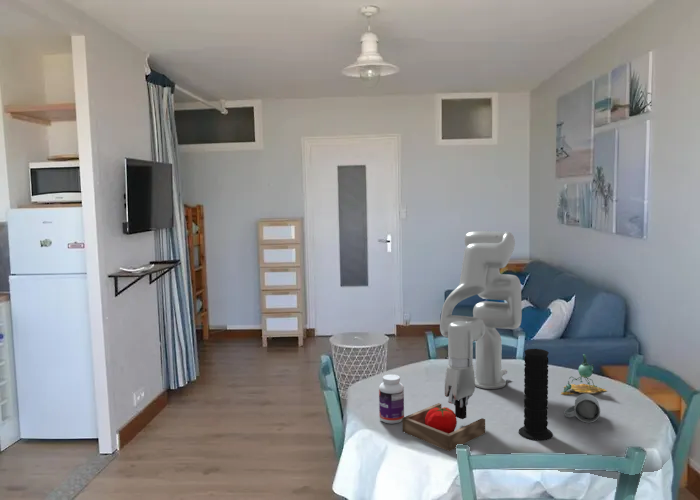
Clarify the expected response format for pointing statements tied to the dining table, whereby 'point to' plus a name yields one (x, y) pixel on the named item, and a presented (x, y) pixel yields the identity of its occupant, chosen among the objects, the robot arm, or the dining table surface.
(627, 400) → the dining table surface
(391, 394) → the pill bottle
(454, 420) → the tomato
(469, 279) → the robot arm
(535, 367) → the handle grip
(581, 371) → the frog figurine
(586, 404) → the ceramic mug
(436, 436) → the box
